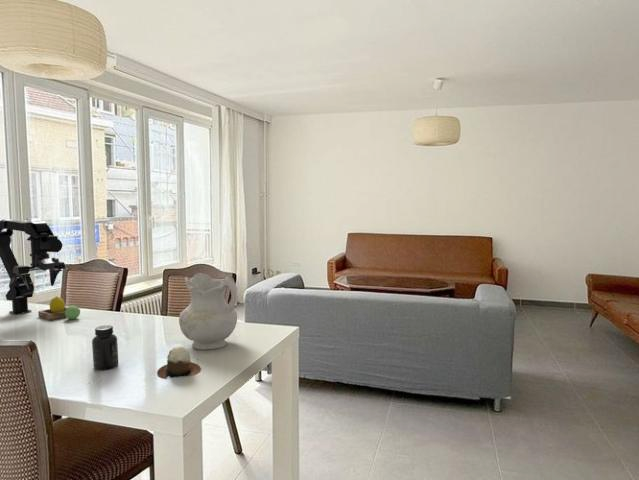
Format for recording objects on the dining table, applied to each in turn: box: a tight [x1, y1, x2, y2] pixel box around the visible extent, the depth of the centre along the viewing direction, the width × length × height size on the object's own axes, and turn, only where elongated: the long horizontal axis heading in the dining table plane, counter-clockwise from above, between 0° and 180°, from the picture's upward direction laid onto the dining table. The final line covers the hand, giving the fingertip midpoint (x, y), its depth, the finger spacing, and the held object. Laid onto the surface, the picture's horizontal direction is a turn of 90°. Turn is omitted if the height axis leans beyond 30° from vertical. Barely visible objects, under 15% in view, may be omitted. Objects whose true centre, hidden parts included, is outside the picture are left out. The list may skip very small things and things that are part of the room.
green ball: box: [65, 305, 81, 320], centre depth 189 cm, size 6×6×6 cm
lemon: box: [49, 296, 66, 313], centre depth 193 cm, size 6×6×8 cm
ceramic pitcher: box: [178, 272, 238, 351], centre depth 155 cm, size 22×20×25 cm
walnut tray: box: [38, 306, 69, 321], centre depth 194 cm, size 11×11×2 cm
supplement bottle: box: [91, 325, 119, 371], centre depth 135 cm, size 7×7×12 cm
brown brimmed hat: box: [156, 345, 201, 380], centre depth 132 cm, size 12×10×10 cm
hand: (41, 287), depth 194 cm, fingers open, 9 cm apart
